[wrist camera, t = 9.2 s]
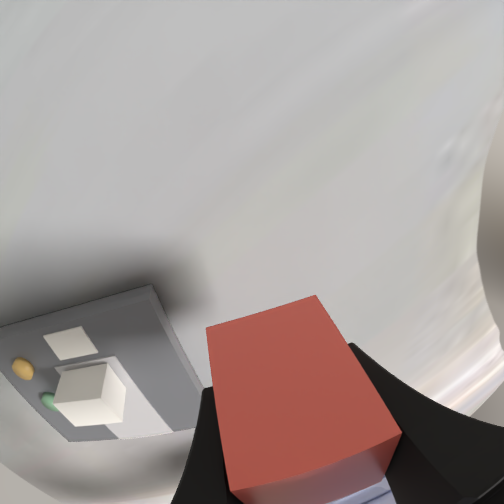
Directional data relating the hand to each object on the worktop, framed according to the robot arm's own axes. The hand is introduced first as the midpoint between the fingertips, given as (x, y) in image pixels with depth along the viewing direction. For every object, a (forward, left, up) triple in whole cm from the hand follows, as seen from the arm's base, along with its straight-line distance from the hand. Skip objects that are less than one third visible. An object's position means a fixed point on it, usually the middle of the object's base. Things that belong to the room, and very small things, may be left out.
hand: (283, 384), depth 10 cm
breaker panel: (-5, +12, -8) cm, 15 cm away
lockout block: (0, 0, -2) cm, 2 cm away
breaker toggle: (-3, +11, -6) cm, 13 cm away
